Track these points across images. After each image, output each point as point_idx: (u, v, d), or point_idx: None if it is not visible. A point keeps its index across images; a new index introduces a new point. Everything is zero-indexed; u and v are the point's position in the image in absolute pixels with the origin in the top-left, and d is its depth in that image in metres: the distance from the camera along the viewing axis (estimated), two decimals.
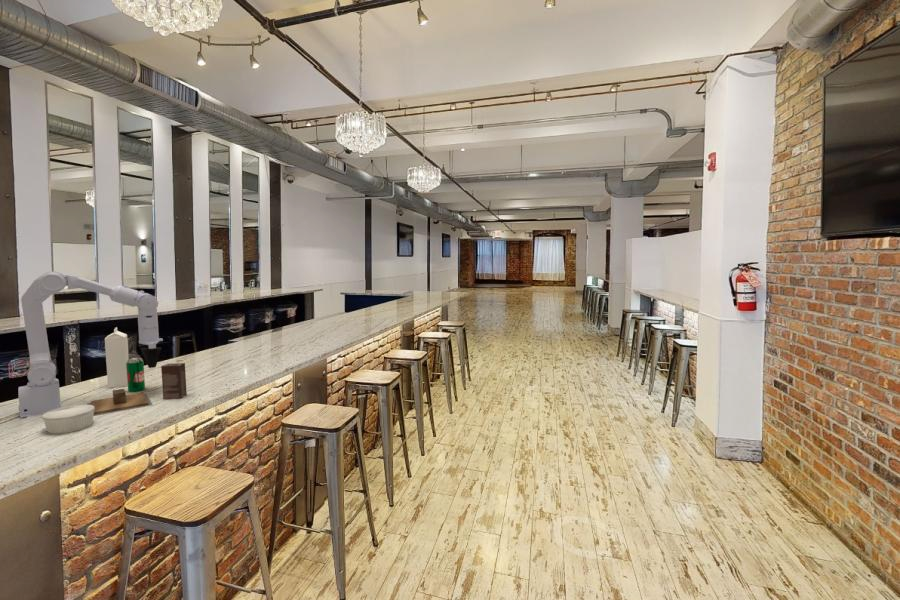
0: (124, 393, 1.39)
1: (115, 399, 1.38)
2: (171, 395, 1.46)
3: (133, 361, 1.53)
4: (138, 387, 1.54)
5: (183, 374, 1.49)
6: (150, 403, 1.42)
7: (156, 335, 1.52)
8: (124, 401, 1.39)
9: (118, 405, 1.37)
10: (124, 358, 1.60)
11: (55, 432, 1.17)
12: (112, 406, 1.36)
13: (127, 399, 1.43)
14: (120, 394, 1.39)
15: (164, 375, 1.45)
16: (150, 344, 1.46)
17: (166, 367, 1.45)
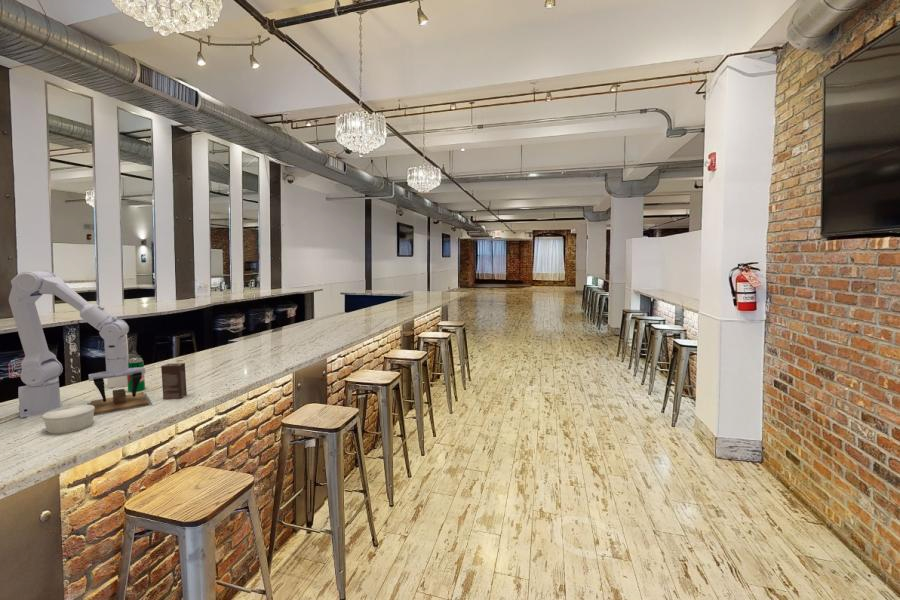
0: (124, 393, 1.39)
1: (115, 399, 1.38)
2: (171, 395, 1.46)
3: (133, 361, 1.53)
4: (138, 387, 1.54)
5: (183, 374, 1.49)
6: (150, 403, 1.42)
7: (109, 368, 1.37)
8: (124, 401, 1.39)
9: (118, 405, 1.37)
10: None
11: (55, 432, 1.17)
12: (112, 406, 1.36)
13: (127, 399, 1.43)
14: (120, 394, 1.39)
15: (164, 375, 1.45)
16: None
17: (166, 367, 1.45)
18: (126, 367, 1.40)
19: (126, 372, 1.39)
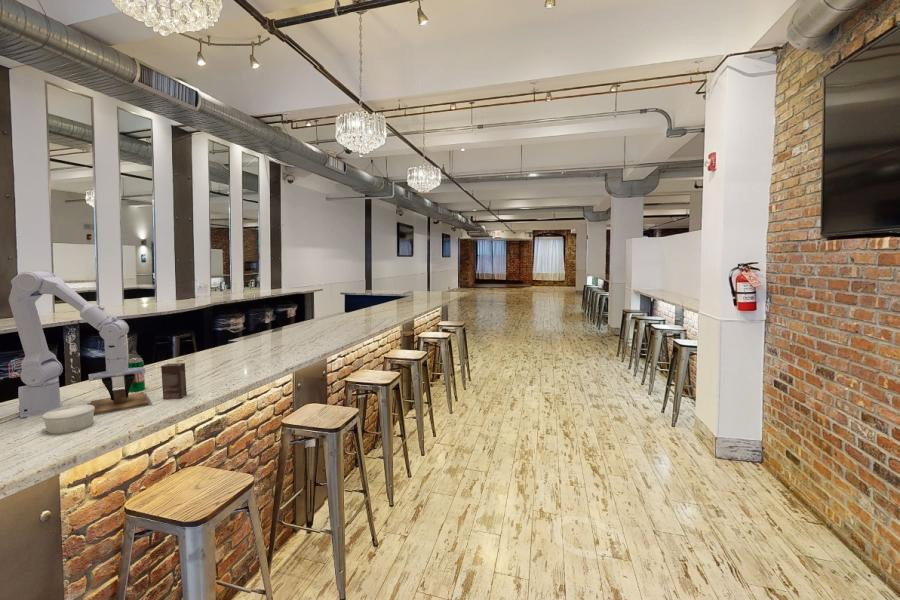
0: (124, 393, 1.39)
1: (115, 399, 1.38)
2: (171, 395, 1.46)
3: (133, 361, 1.53)
4: (138, 387, 1.54)
5: (183, 374, 1.49)
6: (150, 403, 1.42)
7: (109, 368, 1.37)
8: (124, 401, 1.39)
9: (118, 405, 1.37)
10: None
11: (55, 432, 1.17)
12: (112, 406, 1.36)
13: (127, 399, 1.43)
14: (120, 394, 1.39)
15: (164, 375, 1.45)
16: None
17: (166, 367, 1.45)
18: (126, 367, 1.40)
19: (126, 372, 1.39)
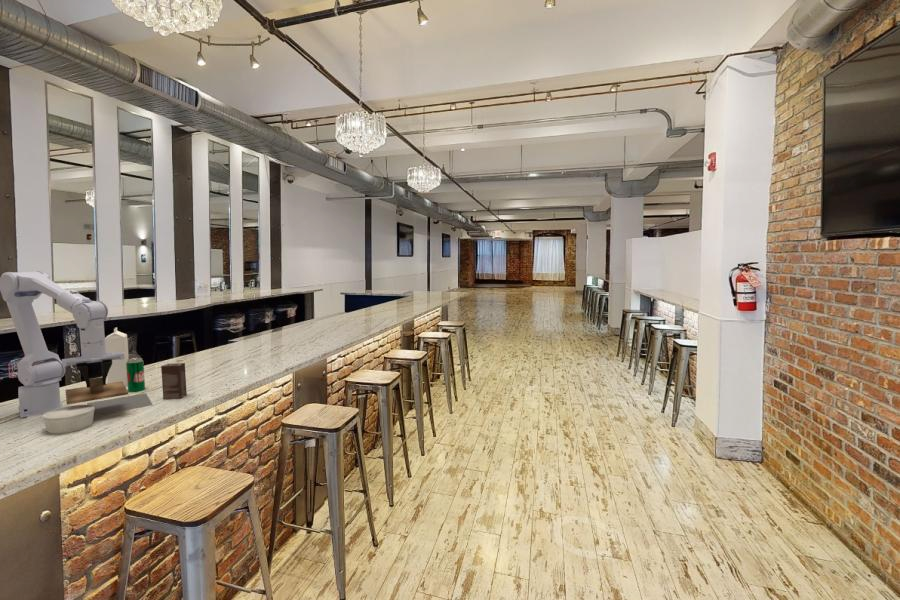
0: (101, 382, 1.30)
1: (91, 388, 1.28)
2: (171, 395, 1.46)
3: (133, 361, 1.53)
4: (138, 387, 1.54)
5: (183, 374, 1.49)
6: (150, 403, 1.42)
7: (85, 352, 1.27)
8: (101, 390, 1.30)
9: (94, 395, 1.28)
10: None
11: (55, 432, 1.17)
12: (88, 395, 1.27)
13: (105, 388, 1.34)
14: (97, 383, 1.29)
15: (164, 375, 1.45)
16: None
17: (166, 367, 1.45)
18: (103, 352, 1.30)
19: (103, 357, 1.30)
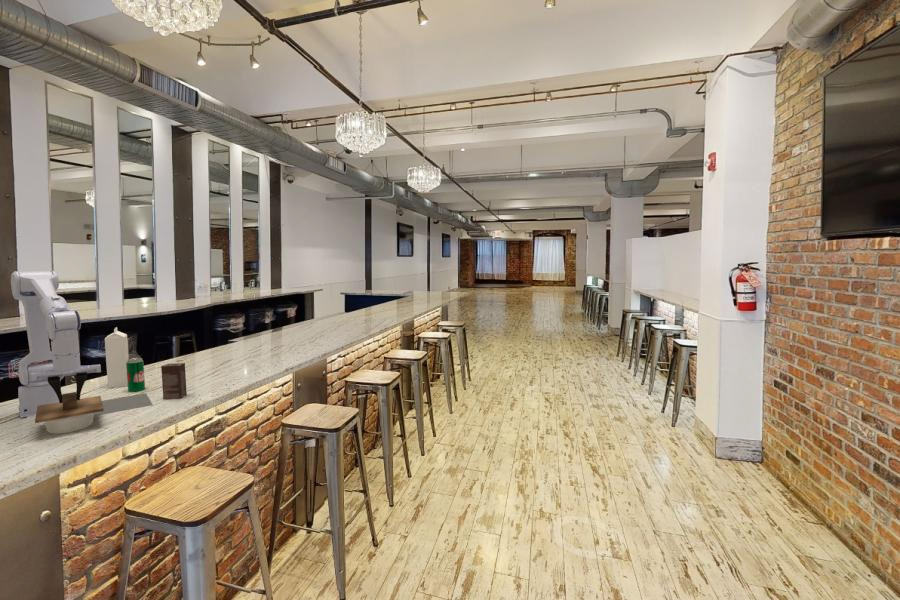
0: (75, 397, 1.21)
1: (64, 404, 1.19)
2: (171, 395, 1.46)
3: (133, 361, 1.53)
4: (138, 387, 1.54)
5: (183, 374, 1.49)
6: (150, 403, 1.42)
7: (57, 365, 1.18)
8: (75, 406, 1.21)
9: (66, 411, 1.18)
10: (124, 358, 1.60)
11: (55, 432, 1.17)
12: (60, 413, 1.18)
13: (80, 403, 1.25)
14: (70, 398, 1.20)
15: (164, 375, 1.45)
16: None
17: (166, 367, 1.45)
18: (77, 365, 1.21)
19: (77, 370, 1.20)
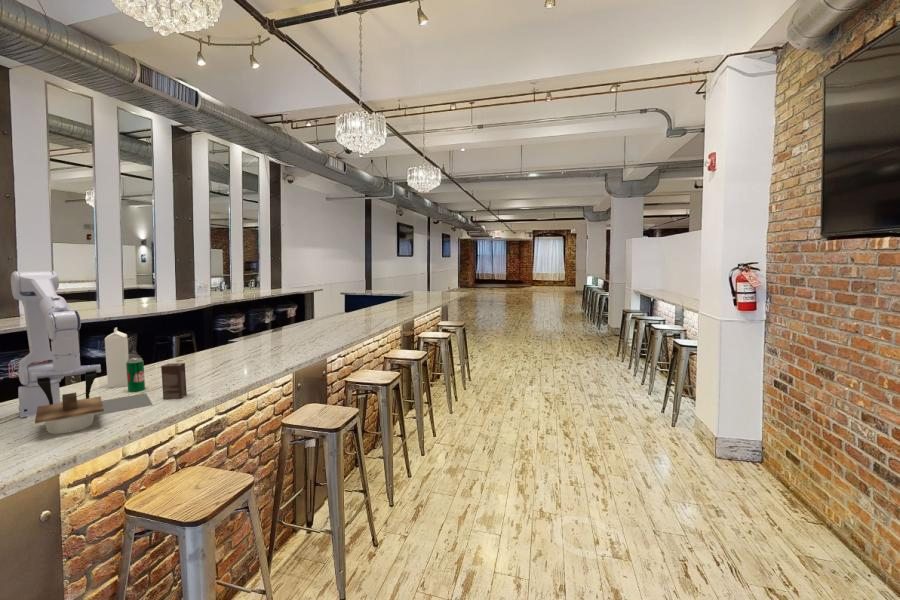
0: (75, 398, 1.21)
1: (64, 405, 1.19)
2: (171, 395, 1.46)
3: (133, 361, 1.53)
4: (138, 387, 1.54)
5: (183, 374, 1.49)
6: (150, 403, 1.42)
7: (57, 365, 1.18)
8: (75, 407, 1.21)
9: (66, 412, 1.18)
10: (124, 358, 1.60)
11: (55, 432, 1.17)
12: (60, 413, 1.17)
13: (80, 404, 1.24)
14: (70, 399, 1.20)
15: (164, 375, 1.45)
16: None
17: (166, 367, 1.45)
18: (77, 365, 1.21)
19: (77, 370, 1.20)
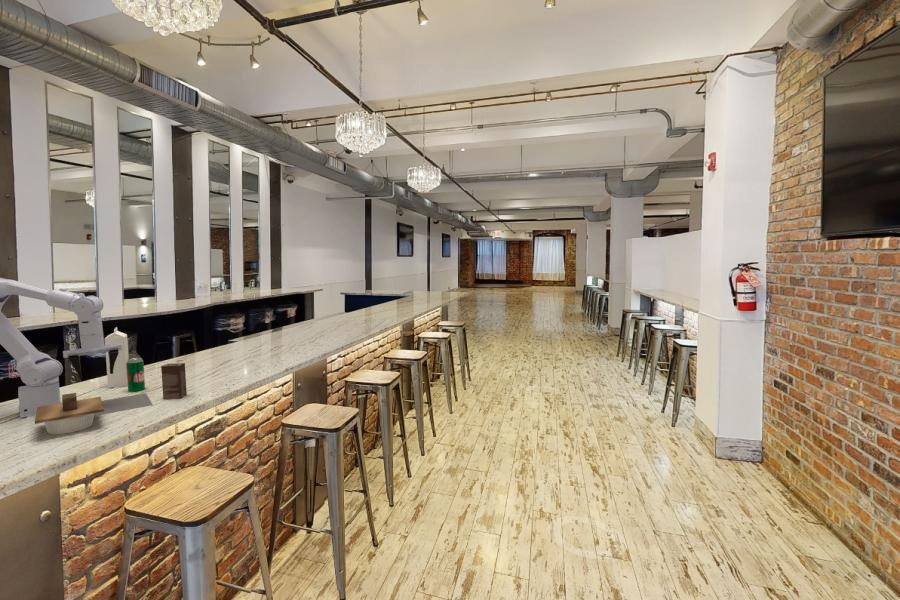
0: (75, 398, 1.20)
1: (64, 405, 1.19)
2: (171, 395, 1.46)
3: (133, 361, 1.53)
4: (138, 387, 1.54)
5: (183, 374, 1.49)
6: (150, 403, 1.42)
7: (84, 344, 1.34)
8: (75, 407, 1.20)
9: (66, 412, 1.18)
10: (124, 358, 1.60)
11: (55, 433, 1.17)
12: (60, 413, 1.17)
13: (80, 404, 1.24)
14: (70, 399, 1.20)
15: (164, 375, 1.45)
16: (63, 352, 1.33)
17: (166, 367, 1.45)
18: (102, 343, 1.37)
19: (102, 348, 1.37)
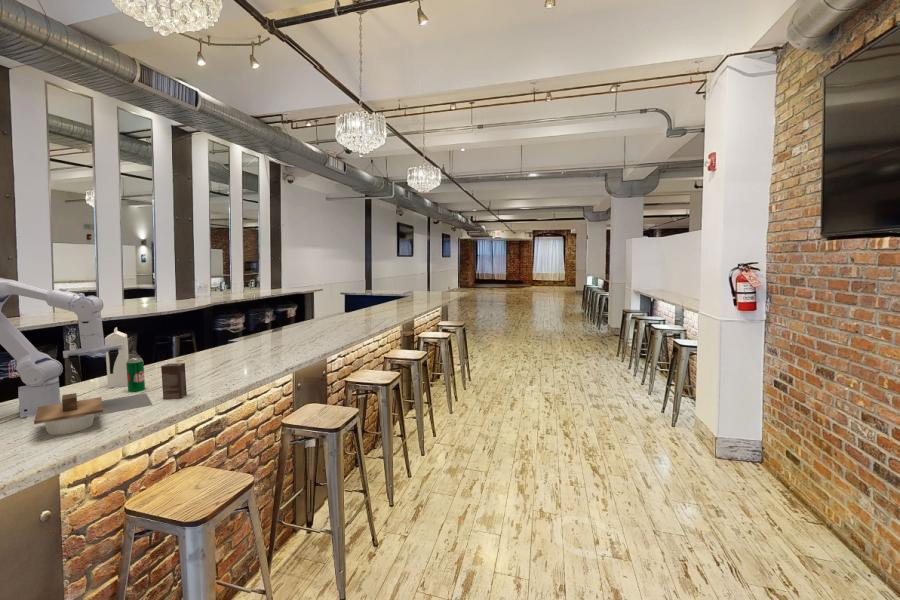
0: (75, 398, 1.20)
1: (63, 405, 1.18)
2: (171, 395, 1.46)
3: (133, 361, 1.53)
4: (138, 387, 1.54)
5: (183, 374, 1.49)
6: (150, 403, 1.42)
7: (84, 344, 1.34)
8: (75, 408, 1.20)
9: (66, 413, 1.18)
10: (124, 358, 1.60)
11: (55, 433, 1.16)
12: (59, 414, 1.17)
13: (80, 405, 1.24)
14: (70, 400, 1.19)
15: (164, 375, 1.45)
16: (63, 352, 1.33)
17: (166, 367, 1.45)
18: (102, 343, 1.37)
19: (102, 348, 1.37)
